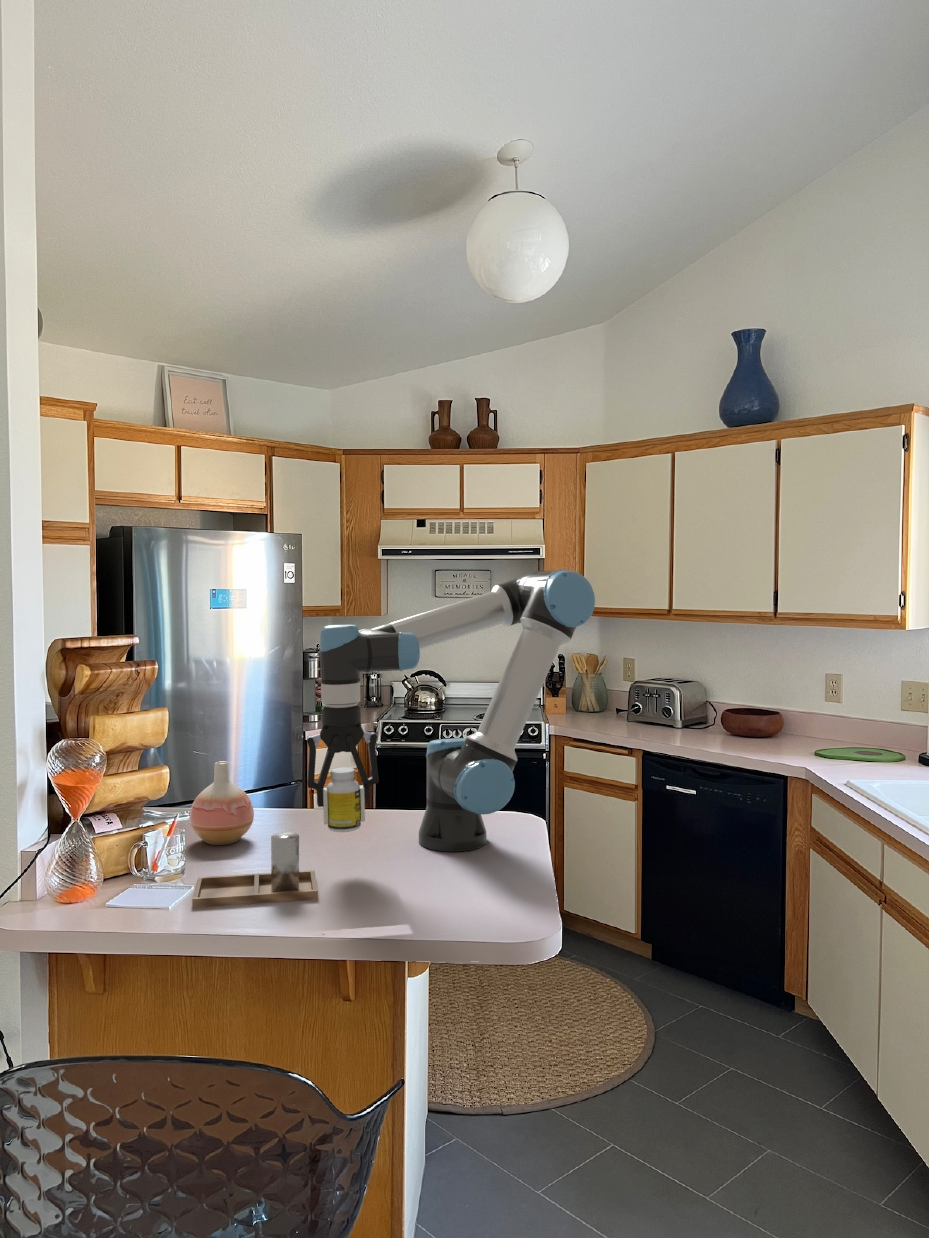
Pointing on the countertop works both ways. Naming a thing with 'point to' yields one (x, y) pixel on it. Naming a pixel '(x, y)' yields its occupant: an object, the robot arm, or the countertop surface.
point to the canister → (285, 862)
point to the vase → (221, 810)
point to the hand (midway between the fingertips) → (344, 820)
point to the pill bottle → (343, 801)
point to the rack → (249, 890)
